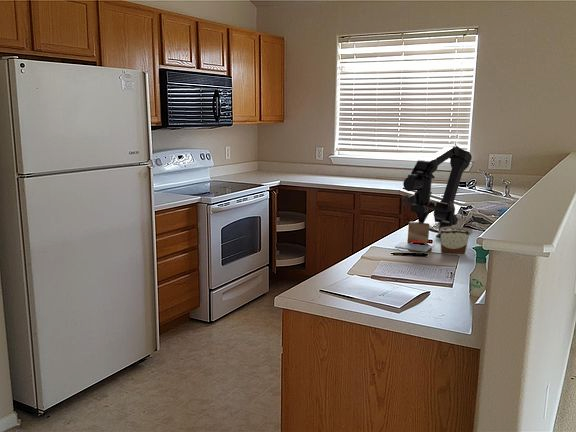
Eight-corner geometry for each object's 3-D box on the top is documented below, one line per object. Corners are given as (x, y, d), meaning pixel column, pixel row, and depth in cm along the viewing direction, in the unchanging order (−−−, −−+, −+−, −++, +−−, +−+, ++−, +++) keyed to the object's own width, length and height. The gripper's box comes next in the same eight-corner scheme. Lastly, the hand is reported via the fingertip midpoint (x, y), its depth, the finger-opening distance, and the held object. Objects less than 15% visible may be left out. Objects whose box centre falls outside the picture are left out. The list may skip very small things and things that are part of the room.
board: (401, 242, 227) (401, 241, 227) (431, 247, 222) (432, 246, 221) (394, 247, 220) (394, 246, 220) (426, 251, 214) (426, 251, 214)
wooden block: (409, 241, 230) (410, 221, 228) (428, 244, 226) (429, 223, 224) (407, 243, 227) (408, 222, 225) (426, 246, 223) (427, 225, 221)
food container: (464, 250, 217) (466, 226, 215) (468, 255, 211) (471, 230, 209) (433, 249, 217) (435, 225, 215) (437, 254, 211) (439, 229, 209)
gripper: (410, 185, 237) (408, 219, 240) (398, 190, 220) (395, 227, 224) (436, 187, 231) (433, 222, 235) (425, 193, 215) (422, 230, 218)
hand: (420, 225), depth 228 cm, fingers closed
